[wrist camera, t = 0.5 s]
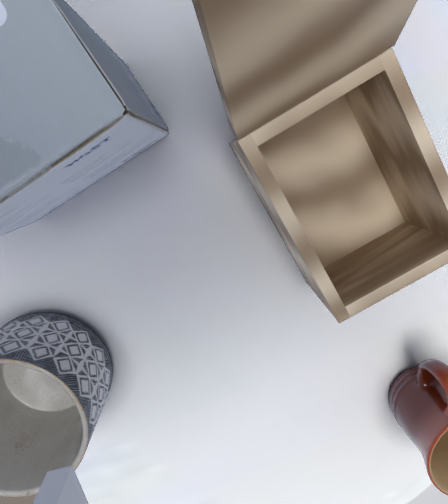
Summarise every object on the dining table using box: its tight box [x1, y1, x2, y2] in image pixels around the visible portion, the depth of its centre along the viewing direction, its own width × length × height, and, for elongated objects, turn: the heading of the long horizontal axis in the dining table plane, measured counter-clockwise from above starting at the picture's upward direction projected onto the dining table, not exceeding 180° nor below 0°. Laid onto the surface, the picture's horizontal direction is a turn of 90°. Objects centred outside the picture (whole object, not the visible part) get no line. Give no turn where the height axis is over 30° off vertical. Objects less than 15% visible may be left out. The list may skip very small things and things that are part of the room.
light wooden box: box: [229, 48, 448, 323], centre depth 35 cm, size 16×12×10 cm
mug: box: [389, 359, 448, 495], centre depth 40 cm, size 12×9×10 cm
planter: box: [0, 313, 112, 497], centre depth 38 cm, size 13×13×10 cm
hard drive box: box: [0, 0, 168, 235], centre depth 28 cm, size 16×8×20 cm, turn 122°
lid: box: [192, 0, 417, 140], centre depth 20 cm, size 16×12×1 cm
